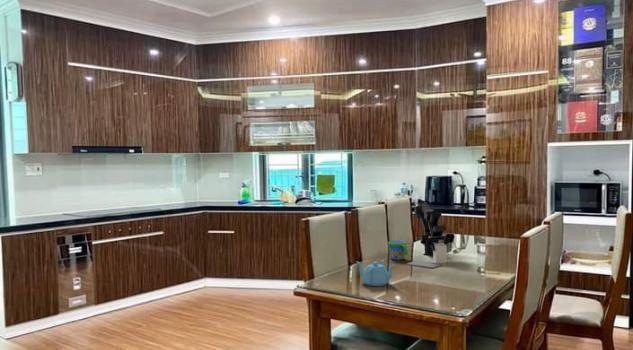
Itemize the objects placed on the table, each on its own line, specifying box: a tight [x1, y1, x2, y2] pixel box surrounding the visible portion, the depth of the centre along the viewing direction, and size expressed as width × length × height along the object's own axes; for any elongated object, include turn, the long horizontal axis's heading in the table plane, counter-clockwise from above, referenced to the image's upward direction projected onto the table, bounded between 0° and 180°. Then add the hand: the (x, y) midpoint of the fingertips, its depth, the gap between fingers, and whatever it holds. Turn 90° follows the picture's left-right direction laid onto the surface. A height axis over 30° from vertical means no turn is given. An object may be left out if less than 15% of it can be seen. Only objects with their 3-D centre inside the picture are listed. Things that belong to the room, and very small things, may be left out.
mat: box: [406, 260, 443, 269], centre depth 253 cm, size 16×10×1 cm, turn 46°
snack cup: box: [387, 240, 408, 261], centre depth 271 cm, size 16×10×10 cm
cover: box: [432, 242, 448, 264], centre depth 260 cm, size 6×6×10 cm
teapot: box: [355, 258, 395, 287], centre depth 218 cm, size 15×15×10 cm
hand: (440, 250), depth 258 cm, fingers closed on cover, 6 cm apart
